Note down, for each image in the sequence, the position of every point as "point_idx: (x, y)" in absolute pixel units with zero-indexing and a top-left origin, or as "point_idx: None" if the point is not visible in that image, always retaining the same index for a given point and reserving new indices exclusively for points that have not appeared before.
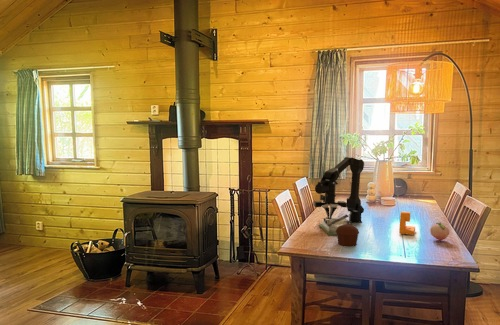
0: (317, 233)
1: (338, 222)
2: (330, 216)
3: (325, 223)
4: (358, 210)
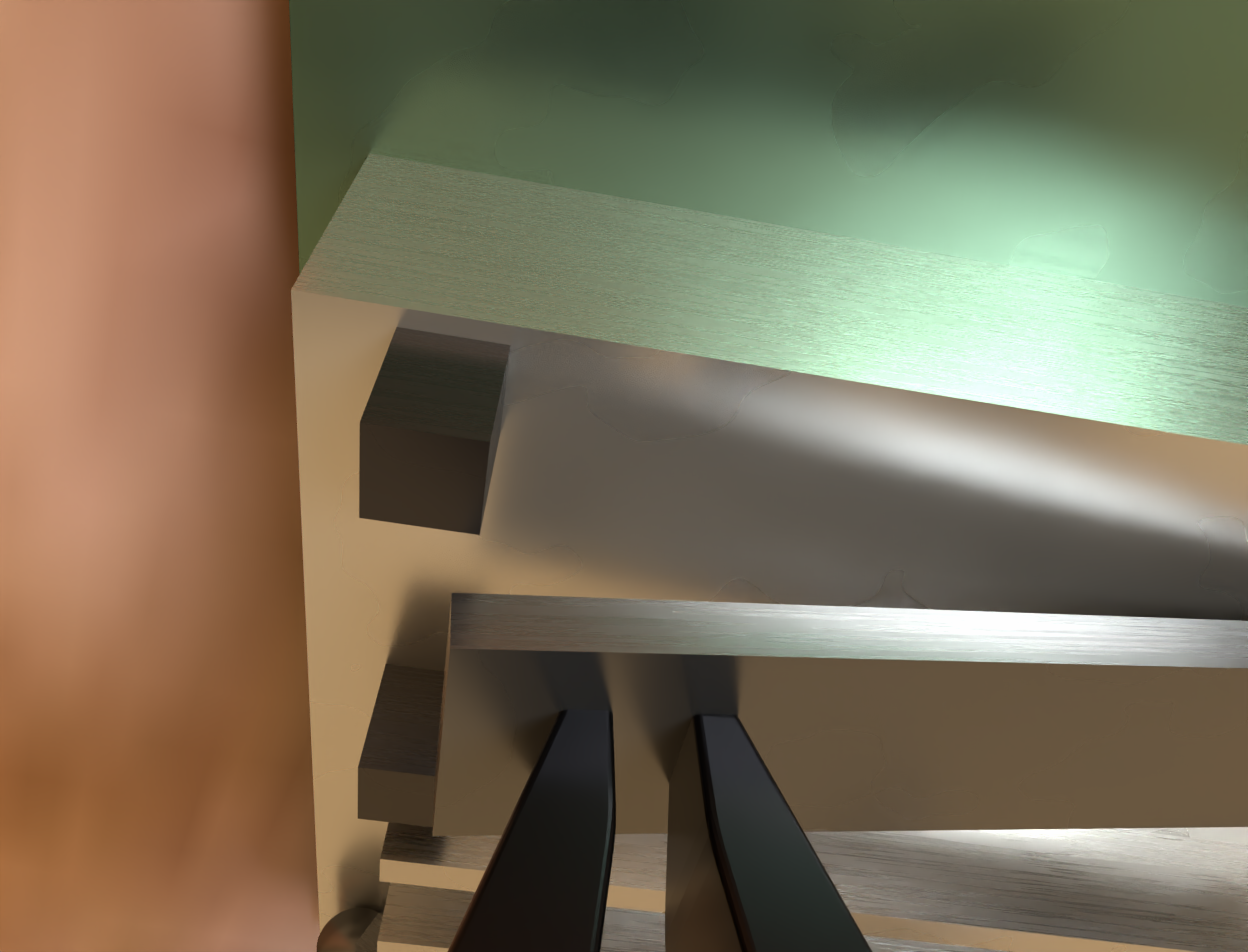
0: (65, 740)
1: None
2: (665, 931)
3: (322, 788)
4: None
